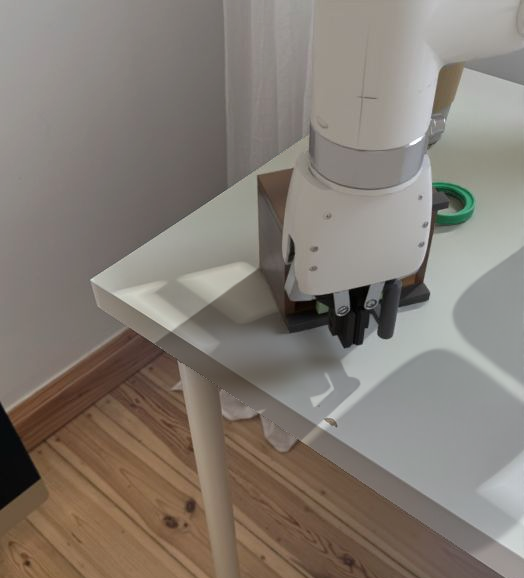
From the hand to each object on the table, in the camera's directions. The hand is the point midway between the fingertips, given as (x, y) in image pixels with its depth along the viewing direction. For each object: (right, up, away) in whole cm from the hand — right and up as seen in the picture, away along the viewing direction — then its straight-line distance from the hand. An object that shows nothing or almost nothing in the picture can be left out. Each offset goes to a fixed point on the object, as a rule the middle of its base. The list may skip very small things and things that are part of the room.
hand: (346, 334), depth 61 cm
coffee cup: (+12, +25, +27) cm, 39 cm away
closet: (0, +6, +11) cm, 12 cm away
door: (+2, +1, +4) cm, 5 cm away
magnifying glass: (+8, +14, +18) cm, 24 cm away
